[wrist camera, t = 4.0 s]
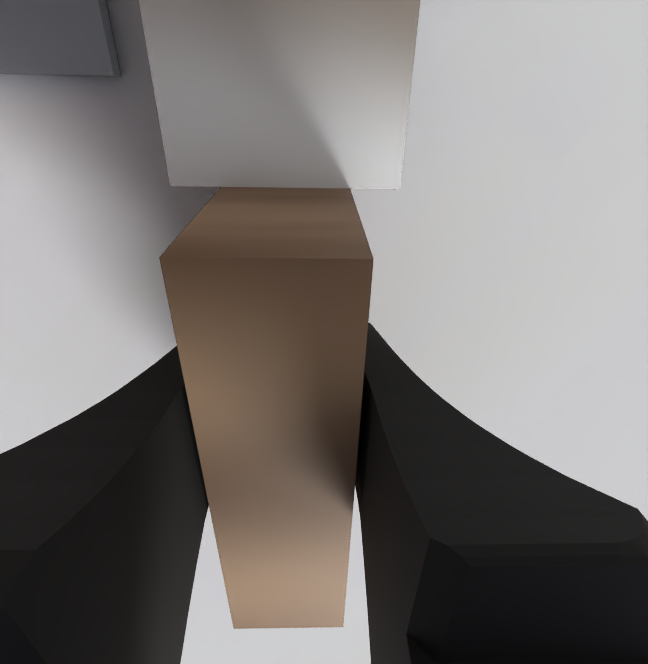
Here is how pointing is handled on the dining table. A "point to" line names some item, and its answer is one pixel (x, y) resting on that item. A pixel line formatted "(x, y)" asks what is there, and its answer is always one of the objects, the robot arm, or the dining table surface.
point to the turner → (278, 270)
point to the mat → (56, 38)
